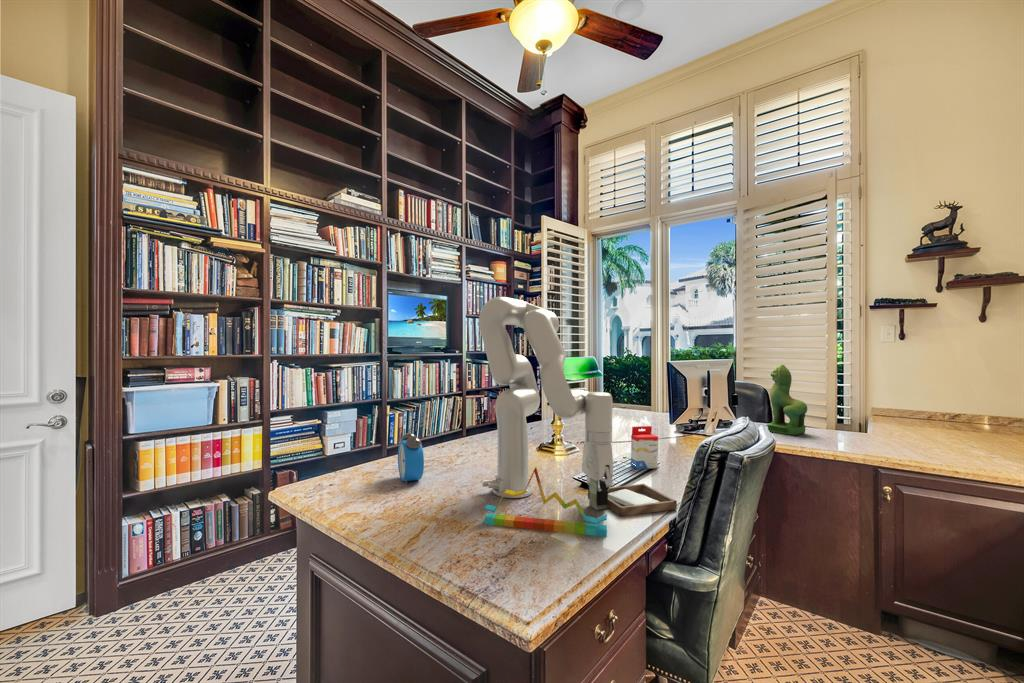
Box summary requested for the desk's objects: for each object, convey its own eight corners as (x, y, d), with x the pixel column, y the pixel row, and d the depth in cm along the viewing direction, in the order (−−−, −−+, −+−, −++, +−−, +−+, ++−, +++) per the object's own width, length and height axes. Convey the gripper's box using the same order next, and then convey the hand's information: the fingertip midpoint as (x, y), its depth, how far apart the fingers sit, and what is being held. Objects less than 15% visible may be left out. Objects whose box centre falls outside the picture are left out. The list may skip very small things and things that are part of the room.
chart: (606, 532, 110) (607, 471, 110) (606, 538, 107) (607, 475, 107) (487, 520, 117) (488, 462, 117) (484, 525, 114) (484, 466, 114)
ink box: (636, 469, 163) (637, 429, 163) (630, 465, 168) (630, 426, 168) (658, 468, 165) (658, 428, 165) (651, 464, 170) (651, 425, 170)
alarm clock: (397, 475, 153) (397, 431, 153) (415, 473, 156) (415, 430, 156) (405, 487, 141) (405, 439, 141) (424, 484, 144) (425, 438, 144)
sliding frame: (606, 518, 118) (607, 487, 118) (580, 497, 133) (580, 470, 133) (676, 509, 125) (676, 480, 125) (643, 490, 139) (644, 465, 139)
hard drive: (607, 493, 132) (641, 506, 122) (626, 488, 137) (660, 500, 127) (607, 499, 132) (641, 512, 122) (626, 493, 137) (660, 506, 127)
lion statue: (775, 428, 241) (776, 363, 241) (810, 434, 228) (811, 365, 227) (763, 431, 233) (764, 364, 233) (798, 437, 220) (799, 365, 219)
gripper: (573, 431, 133) (572, 493, 133) (601, 444, 117) (600, 514, 117) (595, 429, 135) (595, 490, 135) (626, 442, 119) (625, 511, 119)
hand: (597, 501), depth 126 cm, fingers closed on sliding frame, 4 cm apart
